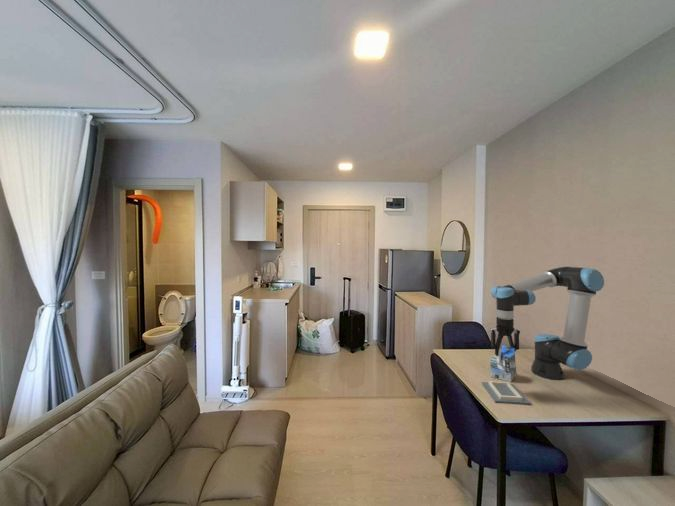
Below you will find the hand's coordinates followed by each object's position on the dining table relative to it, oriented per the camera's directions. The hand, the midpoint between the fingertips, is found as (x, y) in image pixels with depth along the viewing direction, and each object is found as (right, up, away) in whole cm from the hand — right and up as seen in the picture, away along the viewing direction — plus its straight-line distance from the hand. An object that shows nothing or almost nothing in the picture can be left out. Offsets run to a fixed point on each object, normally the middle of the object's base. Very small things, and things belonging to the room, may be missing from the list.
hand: (504, 362), depth 139 cm
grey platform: (0, -17, +1) cm, 17 cm away
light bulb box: (+9, -16, +17) cm, 26 cm away
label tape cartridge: (0, -5, -1) cm, 5 cm away
